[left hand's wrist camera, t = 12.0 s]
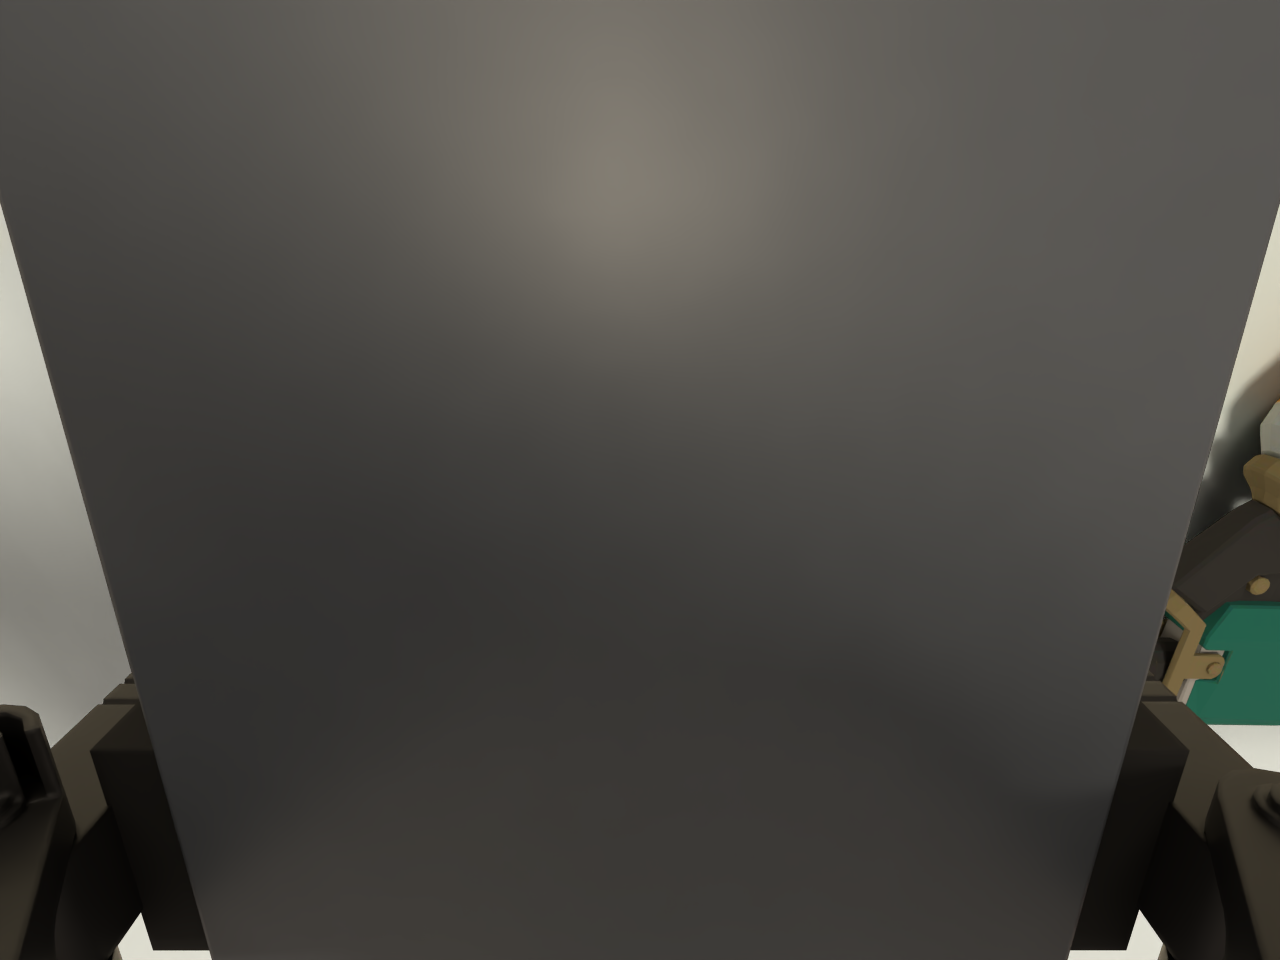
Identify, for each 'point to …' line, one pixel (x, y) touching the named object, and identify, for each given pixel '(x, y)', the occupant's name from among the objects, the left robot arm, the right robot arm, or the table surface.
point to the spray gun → (1230, 606)
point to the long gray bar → (639, 445)
